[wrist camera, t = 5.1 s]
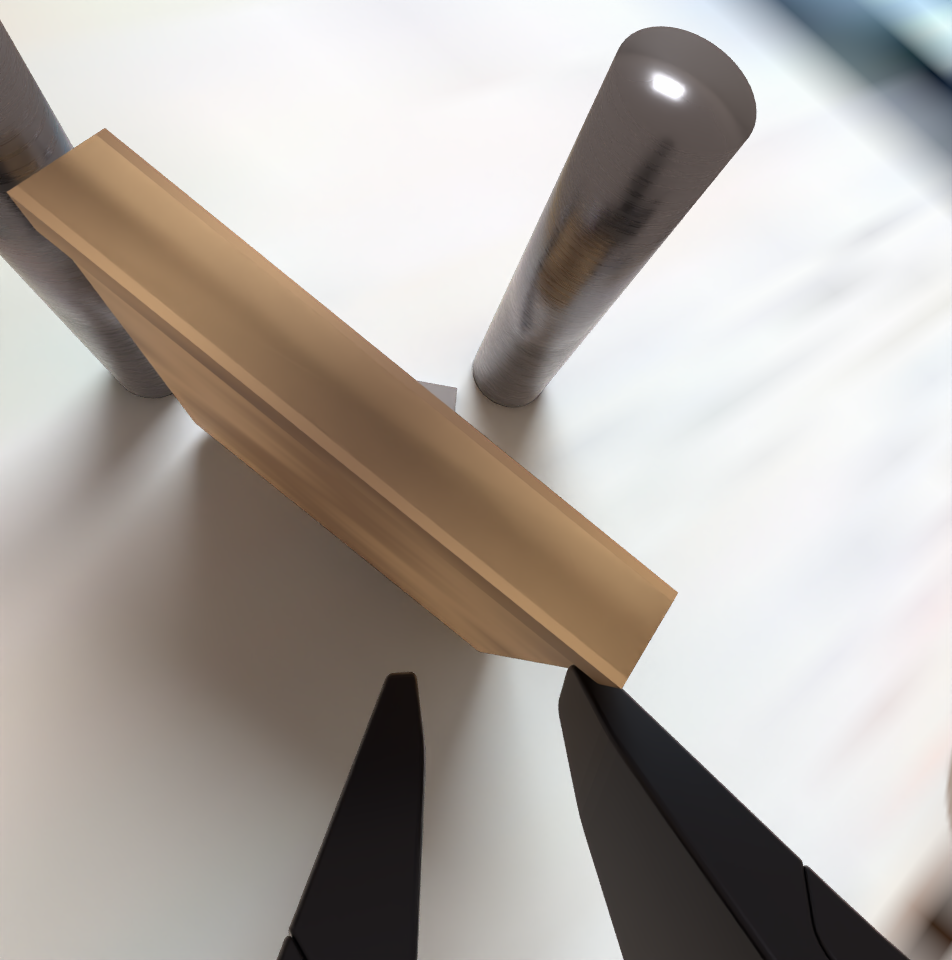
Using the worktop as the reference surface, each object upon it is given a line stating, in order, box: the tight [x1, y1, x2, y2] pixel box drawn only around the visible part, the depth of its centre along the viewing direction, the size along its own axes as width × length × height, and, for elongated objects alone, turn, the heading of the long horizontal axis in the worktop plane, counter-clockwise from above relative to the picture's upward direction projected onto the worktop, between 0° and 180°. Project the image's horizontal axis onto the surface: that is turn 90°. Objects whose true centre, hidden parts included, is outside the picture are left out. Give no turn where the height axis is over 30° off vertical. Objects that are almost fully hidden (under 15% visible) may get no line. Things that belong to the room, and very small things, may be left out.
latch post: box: [473, 26, 756, 407], centre depth 13 cm, size 2×2×10 cm
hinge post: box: [0, 21, 172, 398], centre depth 11 cm, size 2×2×10 cm
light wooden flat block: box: [7, 128, 678, 689], centre depth 11 cm, size 10×2×8 cm, turn 53°
